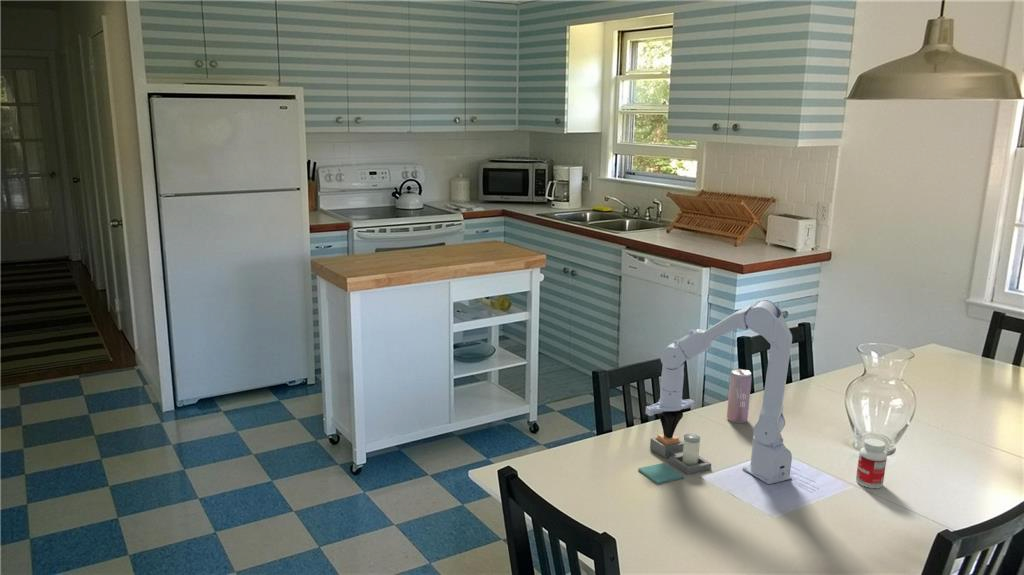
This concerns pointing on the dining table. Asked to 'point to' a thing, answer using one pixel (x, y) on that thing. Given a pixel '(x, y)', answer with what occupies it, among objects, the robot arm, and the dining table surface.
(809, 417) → the dining table surface
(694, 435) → the cylinder
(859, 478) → the pill bottle
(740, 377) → the beverage can
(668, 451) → the housing
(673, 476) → the mat
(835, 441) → the dining table surface
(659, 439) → the orange cube
